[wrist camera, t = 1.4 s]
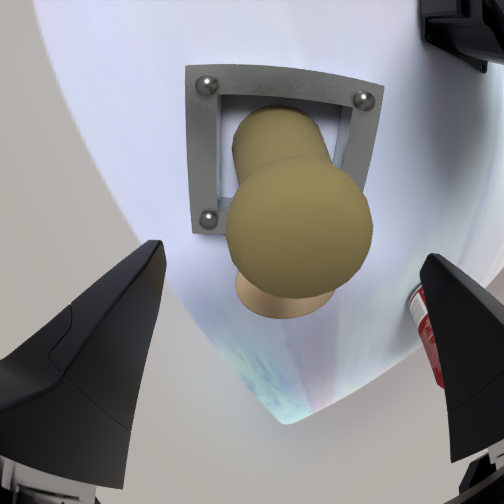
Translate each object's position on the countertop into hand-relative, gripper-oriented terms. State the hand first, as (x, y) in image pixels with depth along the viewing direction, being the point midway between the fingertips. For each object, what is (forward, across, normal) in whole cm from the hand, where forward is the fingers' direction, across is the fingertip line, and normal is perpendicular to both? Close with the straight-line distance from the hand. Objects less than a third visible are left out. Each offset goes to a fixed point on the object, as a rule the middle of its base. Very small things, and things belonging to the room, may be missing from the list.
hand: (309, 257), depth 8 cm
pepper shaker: (+11, 0, 0) cm, 11 cm away
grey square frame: (+11, 0, 0) cm, 11 cm away
